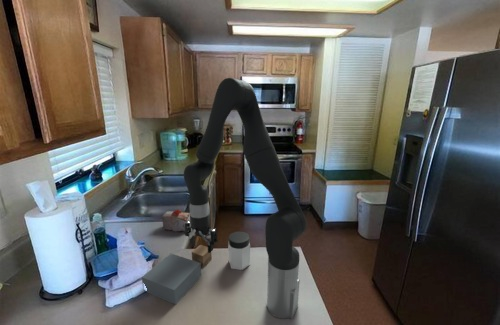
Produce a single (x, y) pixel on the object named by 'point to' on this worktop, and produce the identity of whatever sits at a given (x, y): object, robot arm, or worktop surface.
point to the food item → (175, 220)
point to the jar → (239, 250)
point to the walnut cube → (201, 255)
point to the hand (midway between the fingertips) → (201, 248)
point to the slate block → (172, 278)
